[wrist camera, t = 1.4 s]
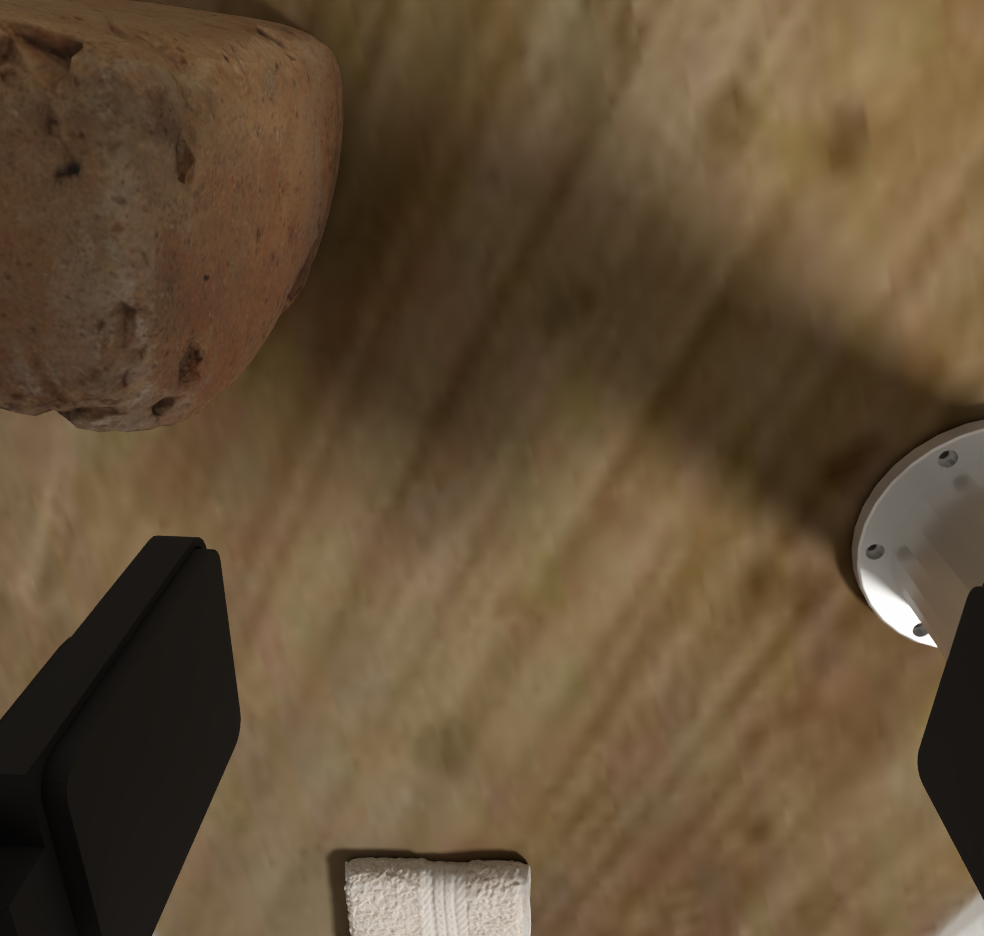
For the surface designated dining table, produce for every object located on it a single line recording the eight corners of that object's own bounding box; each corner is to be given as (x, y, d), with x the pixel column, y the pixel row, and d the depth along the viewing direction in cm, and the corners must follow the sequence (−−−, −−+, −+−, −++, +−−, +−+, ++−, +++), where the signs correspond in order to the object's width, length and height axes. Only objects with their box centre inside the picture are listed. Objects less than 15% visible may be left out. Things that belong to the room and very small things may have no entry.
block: (171, -3, 33) (-248, -62, 15) (363, 37, 34) (173, 25, 16) (166, 272, 38) (-160, 474, 20) (334, 304, 38) (163, 531, 20)
